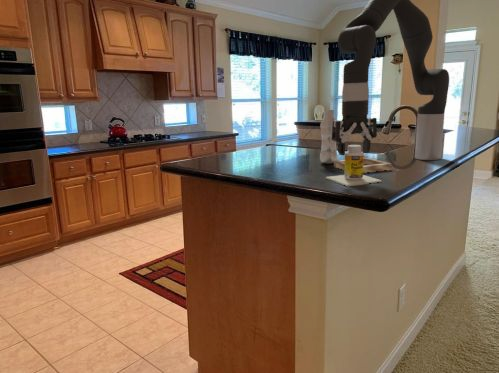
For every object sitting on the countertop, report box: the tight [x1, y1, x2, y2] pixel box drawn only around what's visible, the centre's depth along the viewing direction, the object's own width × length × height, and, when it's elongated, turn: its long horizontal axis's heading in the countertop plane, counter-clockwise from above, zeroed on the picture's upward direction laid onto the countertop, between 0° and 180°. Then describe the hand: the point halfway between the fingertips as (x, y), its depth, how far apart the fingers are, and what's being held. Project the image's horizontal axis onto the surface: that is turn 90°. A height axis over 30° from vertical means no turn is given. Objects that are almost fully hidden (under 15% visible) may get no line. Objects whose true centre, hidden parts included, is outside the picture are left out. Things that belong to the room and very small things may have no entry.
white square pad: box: [325, 174, 383, 187], centre depth 119 cm, size 12×12×1 cm
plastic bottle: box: [319, 109, 338, 165], centre depth 145 cm, size 6×7×20 cm
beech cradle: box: [333, 157, 392, 174], centre depth 136 cm, size 14×14×2 cm
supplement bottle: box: [343, 144, 365, 180], centre depth 118 cm, size 6×6×10 cm
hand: (354, 153), depth 118 cm, fingers open, 8 cm apart
